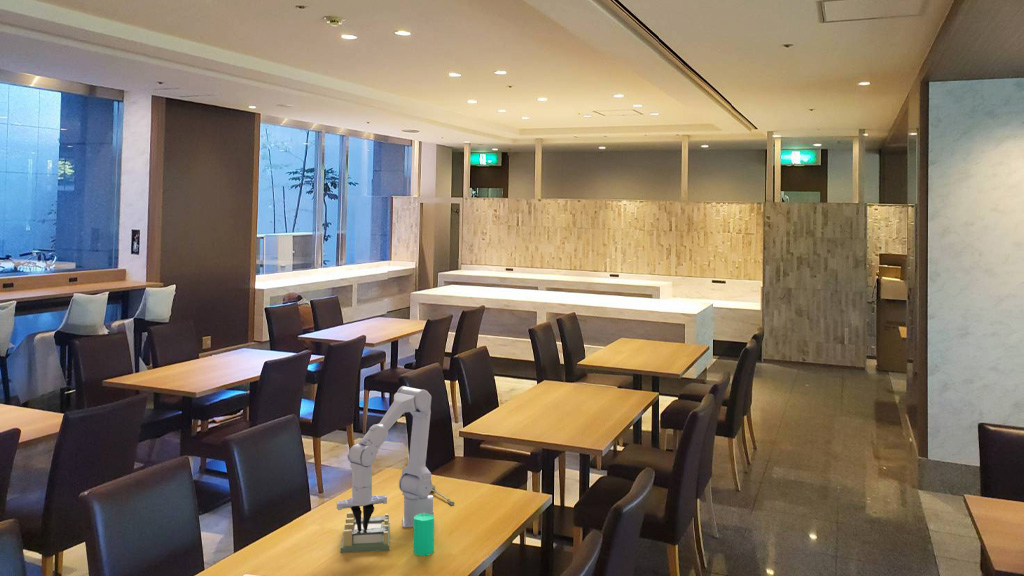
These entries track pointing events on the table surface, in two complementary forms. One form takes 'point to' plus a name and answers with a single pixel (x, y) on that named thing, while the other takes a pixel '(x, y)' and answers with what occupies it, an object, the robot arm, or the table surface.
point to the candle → (423, 534)
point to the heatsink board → (367, 545)
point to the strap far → (374, 519)
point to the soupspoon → (442, 495)
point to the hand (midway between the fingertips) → (362, 529)
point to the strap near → (369, 531)
